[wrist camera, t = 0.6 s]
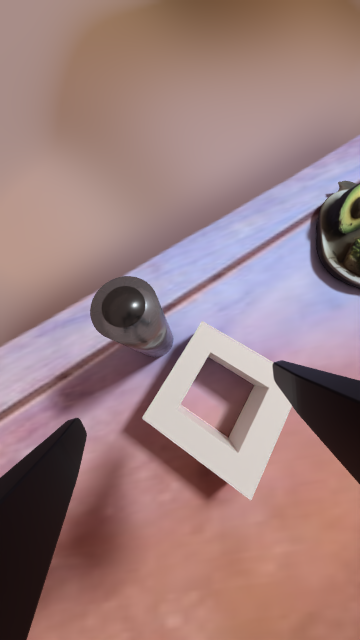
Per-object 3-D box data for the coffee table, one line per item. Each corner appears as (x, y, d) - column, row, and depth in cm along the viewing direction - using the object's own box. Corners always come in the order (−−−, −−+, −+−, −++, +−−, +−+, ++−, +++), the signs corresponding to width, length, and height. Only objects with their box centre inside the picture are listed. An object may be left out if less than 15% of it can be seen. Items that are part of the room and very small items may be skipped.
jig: (238, 474, 19) (251, 500, 15) (150, 409, 21) (141, 418, 17) (282, 378, 21) (303, 379, 17) (199, 329, 23) (202, 321, 19)
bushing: (160, 364, 22) (130, 353, 10) (132, 345, 23) (74, 316, 11) (179, 334, 23) (170, 295, 11) (151, 317, 24) (117, 264, 12)
